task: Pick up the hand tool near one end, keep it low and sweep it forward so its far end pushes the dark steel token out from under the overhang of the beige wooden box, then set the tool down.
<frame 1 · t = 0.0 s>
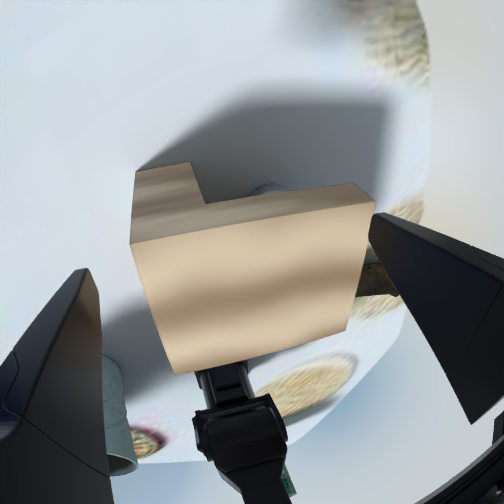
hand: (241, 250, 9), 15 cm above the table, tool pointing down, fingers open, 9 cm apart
grey green cup: (88, 371, 32), on the table
beige wooden box: (197, 226, 25), on the table
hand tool: (324, 272, 33), on the table
can: (254, 432, 55), on the table
steel token: (268, 207, 26), on the table
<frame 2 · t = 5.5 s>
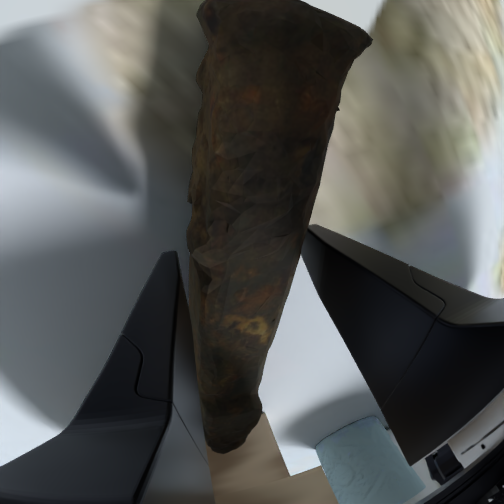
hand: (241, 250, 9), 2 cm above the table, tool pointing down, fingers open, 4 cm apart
grey green cup: (347, 432, 33), on the table
beige wooden box: (191, 430, 20), on the table
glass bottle: (377, 434, 41), on the table
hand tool: (230, 269, 13), on the table, touching gripper
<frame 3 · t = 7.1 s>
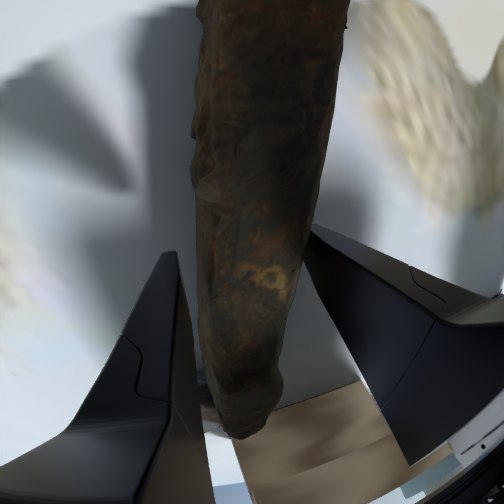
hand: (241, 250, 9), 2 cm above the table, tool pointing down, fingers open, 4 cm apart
grey green cup: (399, 408, 35), on the table
beige wooden box: (298, 402, 22), on the table
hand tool: (242, 228, 12), on the table, touching gripper
steel token: (183, 391, 17), on the table
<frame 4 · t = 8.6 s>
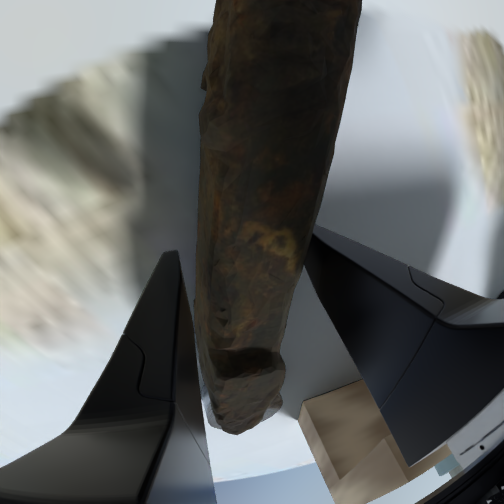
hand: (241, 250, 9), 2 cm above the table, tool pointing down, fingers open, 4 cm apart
beige wooden box: (365, 378, 23), on the table
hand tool: (246, 202, 11), on the table, touching gripper
steel token: (236, 385, 18), on the table
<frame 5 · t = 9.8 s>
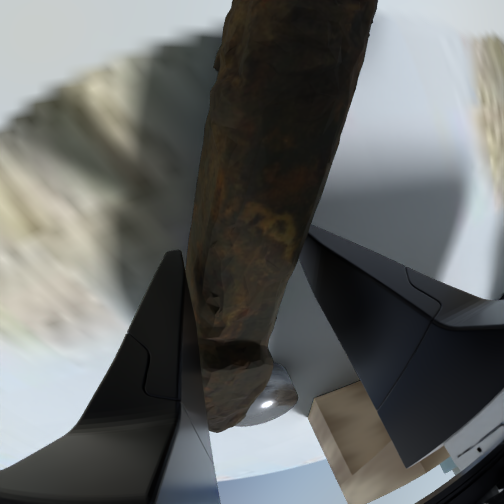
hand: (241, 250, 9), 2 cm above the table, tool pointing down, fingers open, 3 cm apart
beige wooden box: (374, 374, 23), on the table
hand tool: (242, 192, 11), on the table, touching gripper
steel token: (251, 382, 18), on the table
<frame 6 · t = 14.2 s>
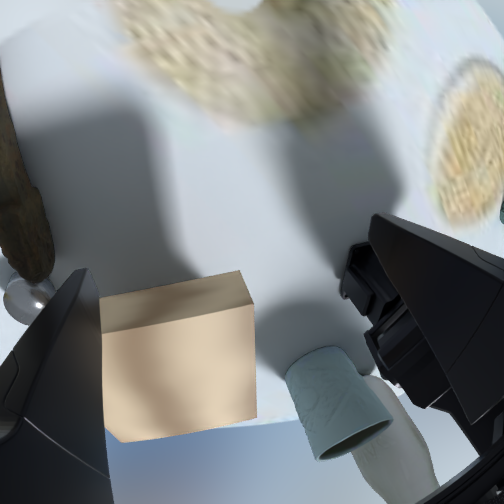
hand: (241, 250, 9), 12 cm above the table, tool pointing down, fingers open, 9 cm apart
grey green cup: (316, 365, 39), on the table
beige wooden box: (161, 313, 26), on the table
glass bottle: (351, 382, 47), on the table
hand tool: (12, 134, 14), on the table
steel token: (32, 289, 21), on the table
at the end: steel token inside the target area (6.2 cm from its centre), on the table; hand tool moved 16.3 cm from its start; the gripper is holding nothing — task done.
